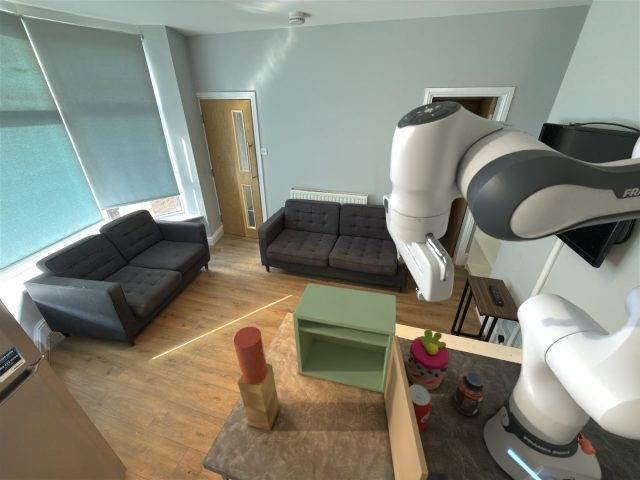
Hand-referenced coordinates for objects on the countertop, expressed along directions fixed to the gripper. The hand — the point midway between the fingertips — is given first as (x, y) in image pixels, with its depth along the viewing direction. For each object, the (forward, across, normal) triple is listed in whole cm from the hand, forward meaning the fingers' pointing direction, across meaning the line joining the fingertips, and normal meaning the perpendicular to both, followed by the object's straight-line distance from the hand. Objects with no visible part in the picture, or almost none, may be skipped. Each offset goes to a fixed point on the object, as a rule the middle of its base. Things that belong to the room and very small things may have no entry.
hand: (411, 277), depth 50 cm
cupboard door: (+41, -17, +5) cm, 45 cm away
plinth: (+39, -5, +39) cm, 55 cm away
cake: (+46, +2, -8) cm, 47 cm away
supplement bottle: (+46, -8, -15) cm, 49 cm away
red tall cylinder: (+21, -2, +37) cm, 42 cm away
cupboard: (+44, +8, +16) cm, 48 cm away
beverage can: (+43, -11, +1) cm, 45 cm away
